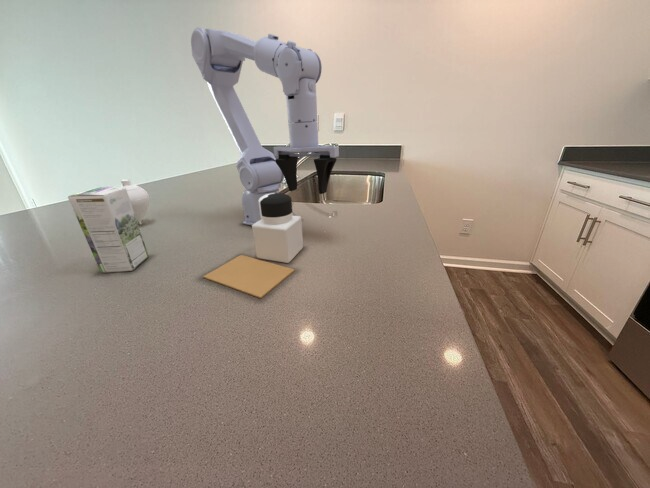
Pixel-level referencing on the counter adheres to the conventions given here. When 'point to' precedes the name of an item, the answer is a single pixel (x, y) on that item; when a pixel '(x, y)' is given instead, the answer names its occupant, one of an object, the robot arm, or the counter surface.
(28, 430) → the counter surface
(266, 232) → the medicine bottle
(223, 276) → the cork mat
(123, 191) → the syrup box
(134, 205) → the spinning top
